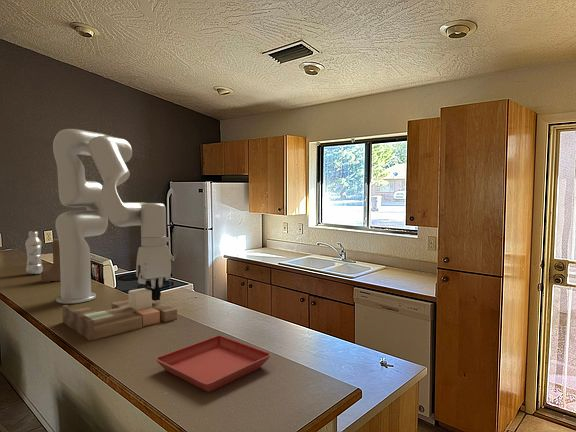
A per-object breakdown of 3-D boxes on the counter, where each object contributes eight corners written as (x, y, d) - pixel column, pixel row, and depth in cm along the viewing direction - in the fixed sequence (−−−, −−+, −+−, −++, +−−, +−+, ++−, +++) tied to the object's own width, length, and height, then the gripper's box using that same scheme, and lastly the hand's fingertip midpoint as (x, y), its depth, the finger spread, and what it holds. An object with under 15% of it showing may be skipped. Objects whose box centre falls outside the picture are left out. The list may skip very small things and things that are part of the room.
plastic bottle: (37, 275, 184) (36, 232, 183) (22, 275, 184) (21, 232, 183) (46, 272, 190) (44, 231, 189) (32, 272, 190) (30, 231, 189)
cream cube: (128, 306, 123) (128, 290, 123) (144, 303, 126) (143, 288, 126) (136, 310, 119) (136, 293, 119) (151, 306, 123) (151, 290, 123)
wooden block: (41, 282, 169) (40, 240, 168) (42, 280, 173) (41, 239, 172) (65, 280, 173) (64, 239, 172) (66, 278, 177) (65, 238, 176)
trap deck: (62, 322, 117) (62, 305, 117) (144, 305, 135) (144, 290, 135) (89, 340, 103) (89, 321, 102) (177, 318, 121) (176, 302, 120)
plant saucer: (206, 400, 74) (206, 383, 74) (153, 372, 85) (153, 357, 85) (272, 368, 88) (272, 353, 87) (219, 347, 99) (219, 334, 99)
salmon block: (136, 322, 118) (136, 310, 118) (152, 318, 121) (152, 307, 121) (143, 326, 114) (142, 314, 114) (159, 322, 118) (159, 311, 117)
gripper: (169, 239, 133) (170, 293, 134) (125, 243, 123) (126, 302, 124) (181, 241, 128) (182, 297, 129) (136, 245, 117) (138, 306, 118)
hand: (155, 299), depth 126 cm, fingers closed
